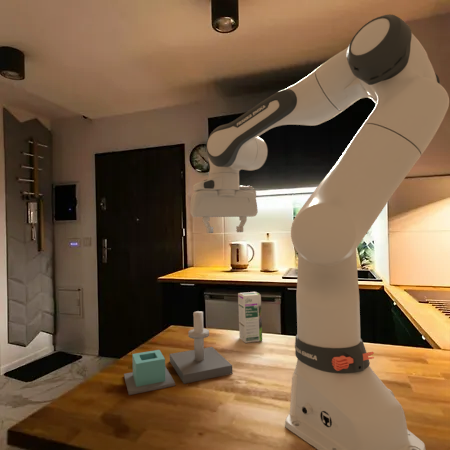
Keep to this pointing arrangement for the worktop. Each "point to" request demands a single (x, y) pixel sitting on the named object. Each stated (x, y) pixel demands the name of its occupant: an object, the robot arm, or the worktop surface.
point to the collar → (148, 367)
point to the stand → (199, 357)
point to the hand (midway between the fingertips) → (225, 232)
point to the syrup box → (250, 317)
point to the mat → (134, 390)
